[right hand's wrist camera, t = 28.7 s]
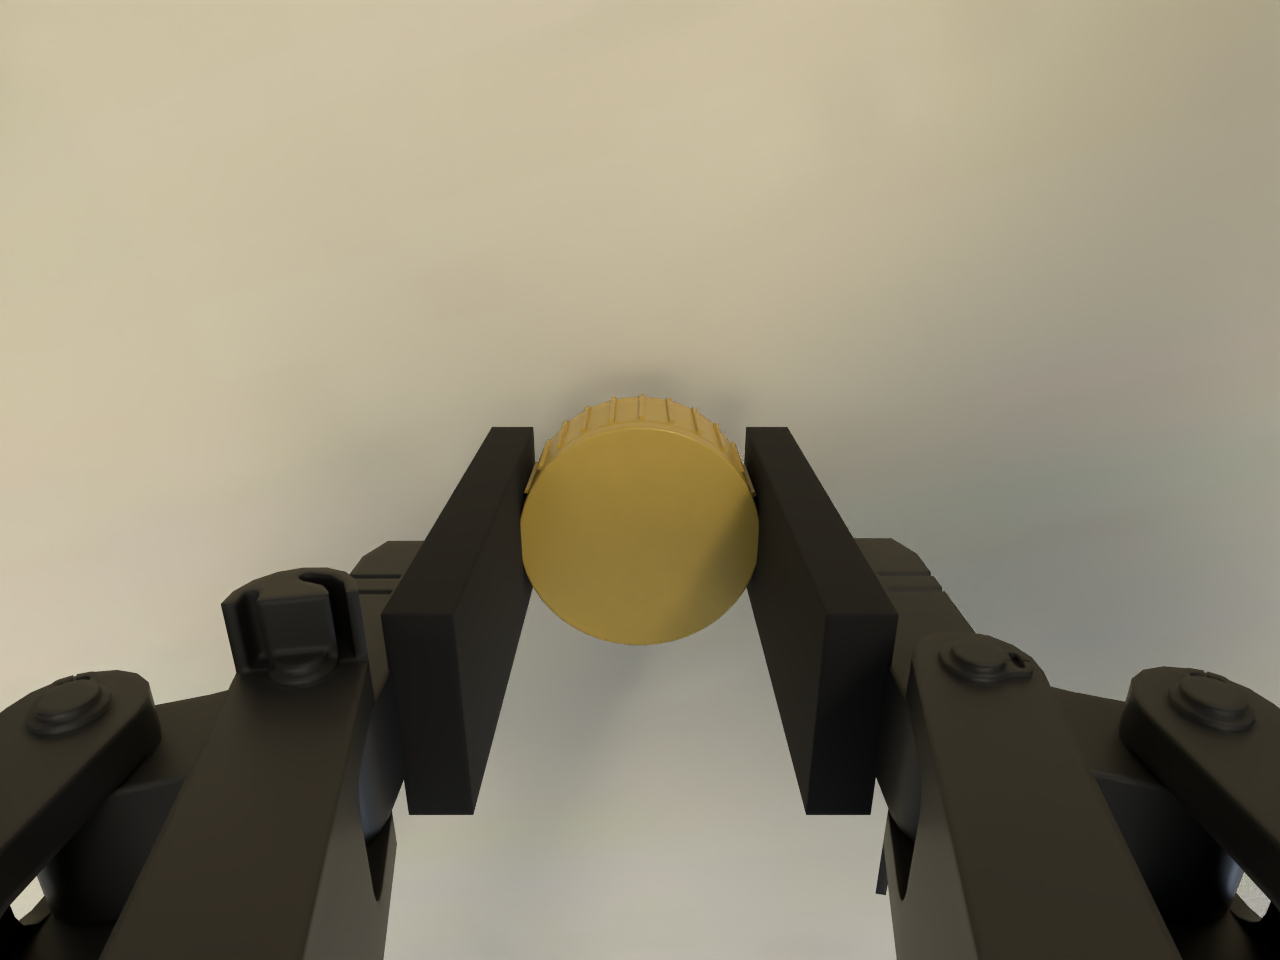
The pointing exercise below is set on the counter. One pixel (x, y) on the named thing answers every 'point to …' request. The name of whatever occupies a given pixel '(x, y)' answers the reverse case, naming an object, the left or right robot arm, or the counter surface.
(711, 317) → the counter surface
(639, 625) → the cap
